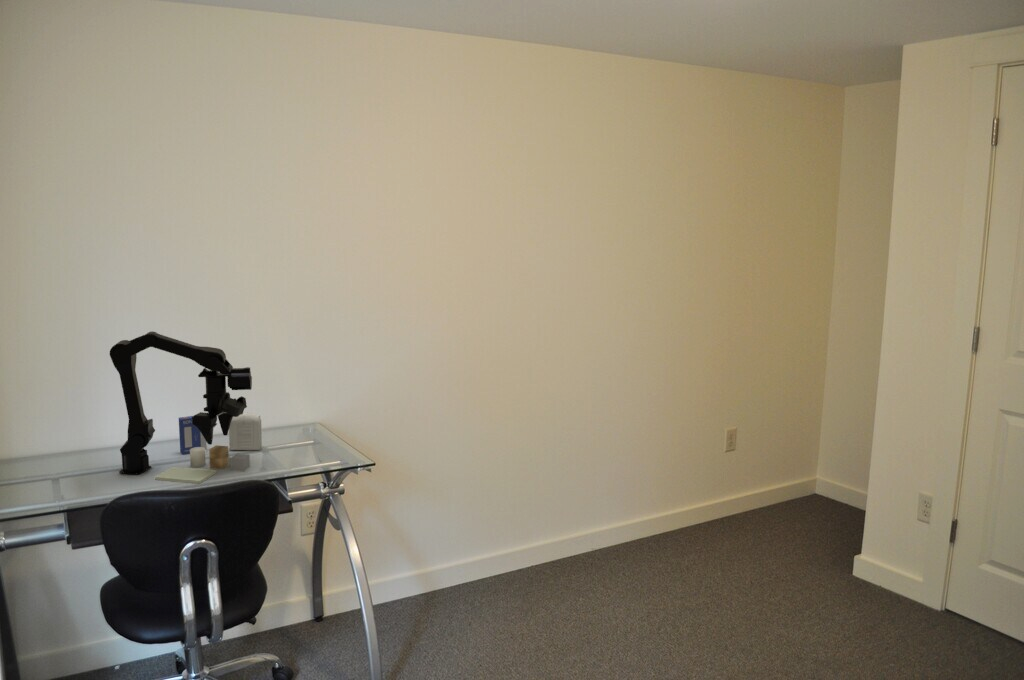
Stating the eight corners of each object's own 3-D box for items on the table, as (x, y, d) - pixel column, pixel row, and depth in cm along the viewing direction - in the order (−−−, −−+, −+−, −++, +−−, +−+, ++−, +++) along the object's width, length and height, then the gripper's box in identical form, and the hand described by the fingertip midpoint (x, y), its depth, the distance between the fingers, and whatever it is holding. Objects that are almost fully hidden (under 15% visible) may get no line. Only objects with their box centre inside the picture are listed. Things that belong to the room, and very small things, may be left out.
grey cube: (231, 470, 230) (230, 457, 229) (237, 465, 234) (237, 453, 233) (243, 471, 230) (243, 458, 229) (249, 466, 233) (249, 454, 233)
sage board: (155, 479, 220) (155, 477, 220) (173, 469, 229) (172, 466, 229) (199, 483, 218) (199, 480, 218) (216, 472, 227) (216, 470, 227)
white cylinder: (187, 466, 232) (186, 450, 231) (195, 461, 236) (194, 446, 235) (201, 467, 231) (200, 452, 230) (208, 462, 235) (207, 447, 234)
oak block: (209, 468, 231) (209, 449, 230) (216, 463, 235) (215, 445, 234) (222, 469, 230) (221, 450, 229) (228, 464, 234) (228, 446, 233)
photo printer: (263, 446, 252) (262, 411, 250) (260, 450, 248) (259, 414, 246) (231, 447, 251) (229, 411, 248) (228, 451, 246) (226, 414, 244)
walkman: (182, 454, 242) (180, 418, 240) (180, 452, 244) (178, 416, 242) (207, 450, 246) (206, 415, 244) (205, 448, 249) (204, 413, 246)
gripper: (225, 399, 218) (227, 451, 221) (255, 385, 236) (256, 432, 239) (189, 397, 220) (191, 448, 222) (222, 382, 238) (223, 430, 241)
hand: (217, 439), depth 231 cm, fingers open, 9 cm apart
